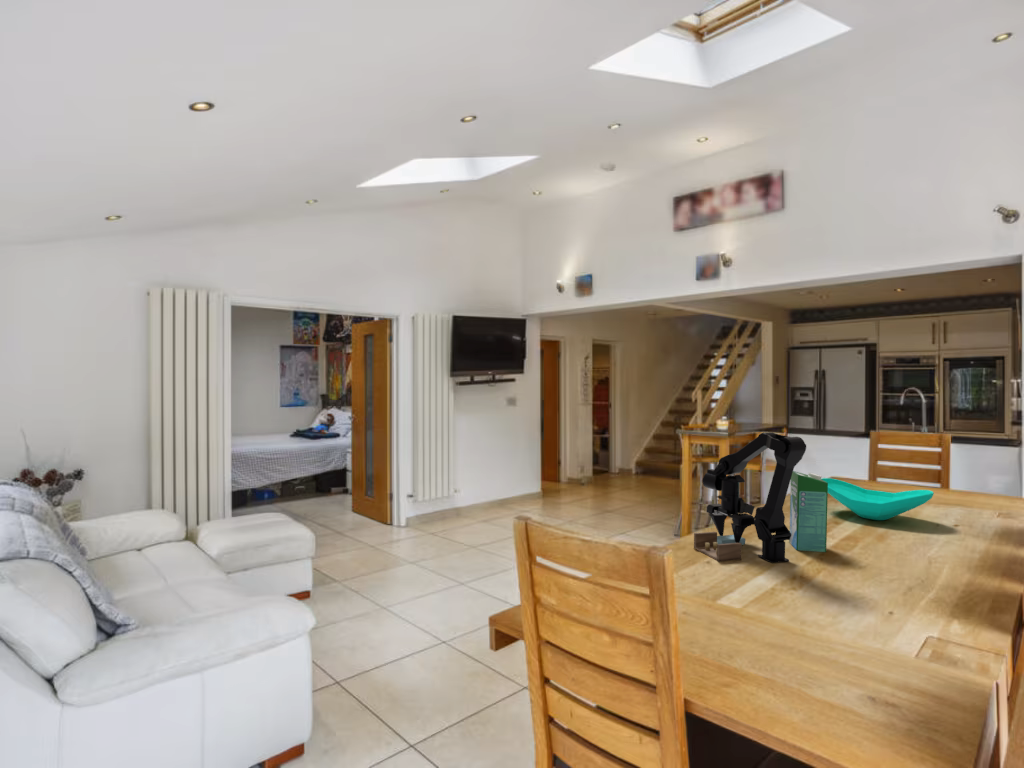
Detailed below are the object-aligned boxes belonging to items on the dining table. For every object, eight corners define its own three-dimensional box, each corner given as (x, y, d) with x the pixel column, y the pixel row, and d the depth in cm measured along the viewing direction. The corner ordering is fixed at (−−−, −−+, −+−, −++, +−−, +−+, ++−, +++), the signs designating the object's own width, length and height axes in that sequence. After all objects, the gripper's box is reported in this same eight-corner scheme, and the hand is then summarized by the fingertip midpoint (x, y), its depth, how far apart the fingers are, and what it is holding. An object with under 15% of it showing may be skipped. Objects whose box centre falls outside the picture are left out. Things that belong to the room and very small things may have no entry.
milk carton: (826, 552, 188) (828, 475, 188) (796, 550, 190) (798, 474, 190) (817, 544, 197) (819, 471, 197) (789, 542, 199) (790, 469, 198)
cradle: (741, 559, 180) (741, 543, 180) (718, 561, 178) (719, 545, 178) (715, 546, 193) (715, 531, 193) (693, 548, 191) (694, 533, 191)
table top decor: (937, 520, 231) (938, 487, 231) (927, 534, 210) (928, 498, 210) (827, 504, 258) (828, 474, 257) (809, 515, 237) (810, 483, 237)
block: (735, 541, 201) (735, 534, 201) (745, 545, 196) (745, 538, 196) (713, 543, 198) (713, 536, 198) (722, 547, 194) (722, 540, 194)
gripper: (769, 498, 190) (768, 545, 190) (733, 487, 208) (732, 530, 208) (740, 500, 187) (739, 548, 187) (706, 488, 205) (705, 532, 205)
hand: (729, 539), depth 197 cm, fingers open, 8 cm apart
